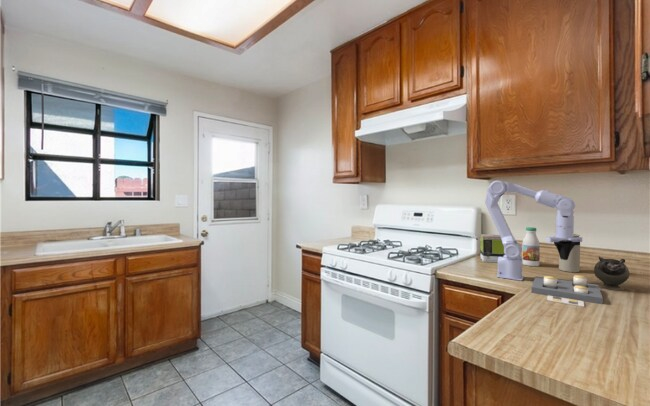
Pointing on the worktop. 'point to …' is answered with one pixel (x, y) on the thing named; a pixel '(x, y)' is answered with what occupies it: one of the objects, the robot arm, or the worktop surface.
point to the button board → (567, 290)
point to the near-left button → (550, 281)
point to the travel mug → (571, 259)
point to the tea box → (491, 248)
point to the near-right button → (580, 289)
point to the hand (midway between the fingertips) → (564, 259)
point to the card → (565, 301)
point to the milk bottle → (530, 248)
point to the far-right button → (580, 280)
